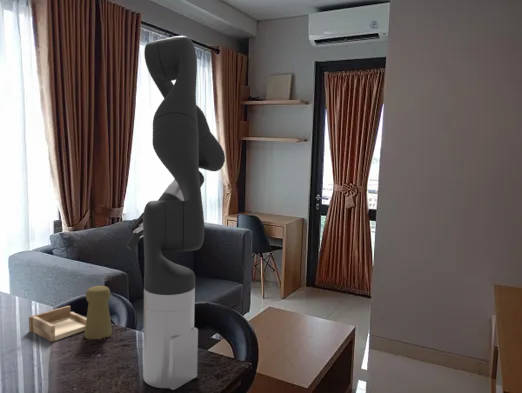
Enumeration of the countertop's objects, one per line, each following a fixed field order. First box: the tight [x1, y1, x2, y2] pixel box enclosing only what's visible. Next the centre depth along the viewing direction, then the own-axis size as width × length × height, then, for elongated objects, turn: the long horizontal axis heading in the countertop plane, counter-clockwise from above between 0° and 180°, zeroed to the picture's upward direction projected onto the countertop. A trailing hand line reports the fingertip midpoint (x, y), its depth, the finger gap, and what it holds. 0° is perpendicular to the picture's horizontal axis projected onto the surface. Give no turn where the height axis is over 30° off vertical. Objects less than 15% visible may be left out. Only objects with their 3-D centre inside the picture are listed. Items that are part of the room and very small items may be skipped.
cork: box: [84, 285, 113, 340], centre depth 98 cm, size 6×6×11 cm
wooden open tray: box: [28, 305, 87, 343], centre depth 100 cm, size 9×10×4 cm
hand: (139, 250), depth 106 cm, fingers open, 8 cm apart
